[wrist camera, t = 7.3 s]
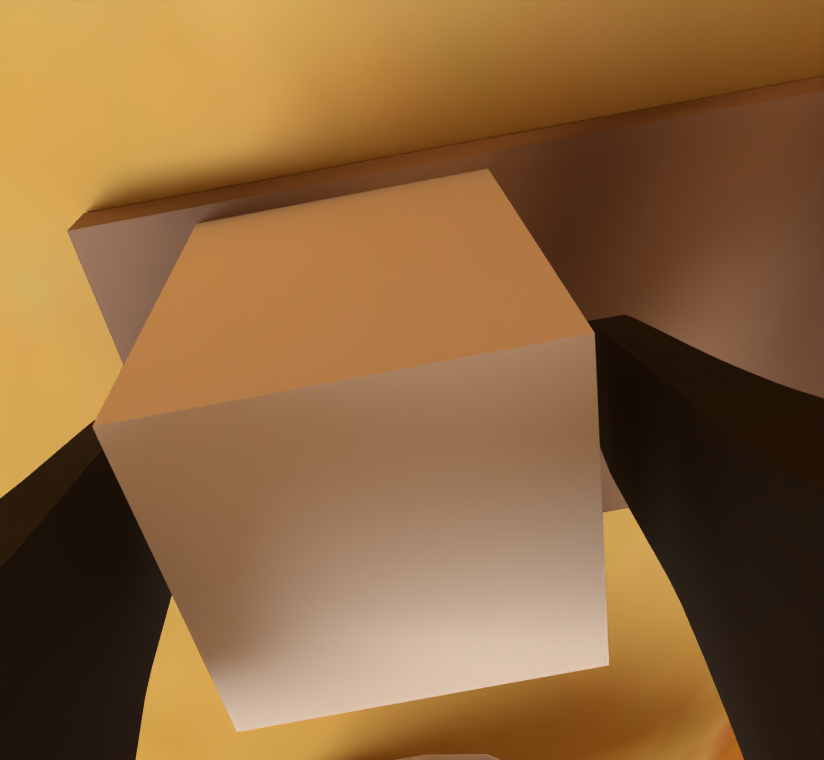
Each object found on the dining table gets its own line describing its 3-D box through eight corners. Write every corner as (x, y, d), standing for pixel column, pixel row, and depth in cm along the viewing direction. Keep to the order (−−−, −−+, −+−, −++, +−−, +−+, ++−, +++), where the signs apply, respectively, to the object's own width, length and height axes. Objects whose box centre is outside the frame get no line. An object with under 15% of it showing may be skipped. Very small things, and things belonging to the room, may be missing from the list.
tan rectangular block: (488, 168, 13) (594, 333, 8) (515, 412, 16) (608, 665, 11) (196, 224, 14) (92, 426, 8) (273, 457, 16) (237, 731, 11)
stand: (1014, 40, 14) (1058, 46, 13) (922, 426, 19) (950, 450, 18) (83, 213, 14) (66, 230, 13) (220, 552, 19) (214, 581, 18)
